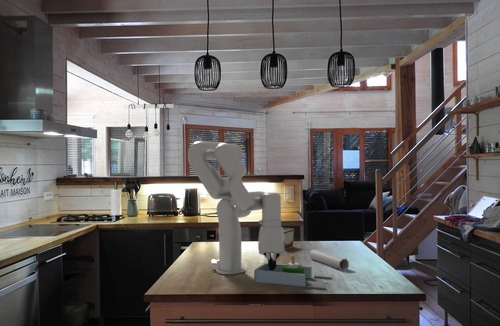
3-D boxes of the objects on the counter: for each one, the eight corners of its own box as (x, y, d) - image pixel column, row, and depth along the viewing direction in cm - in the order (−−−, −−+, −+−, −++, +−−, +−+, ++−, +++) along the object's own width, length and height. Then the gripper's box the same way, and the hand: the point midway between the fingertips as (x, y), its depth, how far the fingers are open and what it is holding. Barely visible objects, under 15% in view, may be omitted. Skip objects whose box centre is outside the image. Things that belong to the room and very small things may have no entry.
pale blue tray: (254, 281, 162) (254, 270, 162) (264, 273, 174) (264, 262, 174) (304, 286, 155) (304, 274, 155) (311, 277, 167) (311, 266, 167)
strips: (306, 288, 154) (306, 286, 154) (314, 277, 168) (314, 275, 168) (325, 289, 151) (325, 288, 151) (332, 278, 166) (332, 277, 166)
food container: (284, 245, 233) (284, 227, 233) (294, 246, 229) (294, 228, 229) (272, 249, 223) (272, 230, 223) (282, 250, 219) (282, 231, 219)
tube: (305, 251, 200) (337, 261, 177) (314, 246, 202) (347, 256, 179) (308, 261, 201) (341, 273, 178) (317, 256, 203) (350, 267, 180)
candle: (308, 280, 163) (308, 255, 163) (294, 285, 157) (294, 258, 157) (291, 276, 169) (291, 252, 169) (278, 281, 163) (278, 255, 163)
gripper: (250, 224, 165) (251, 270, 165) (287, 225, 160) (288, 273, 160) (256, 221, 172) (257, 266, 172) (292, 223, 167) (292, 268, 167)
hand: (272, 269), depth 166 cm, fingers closed
